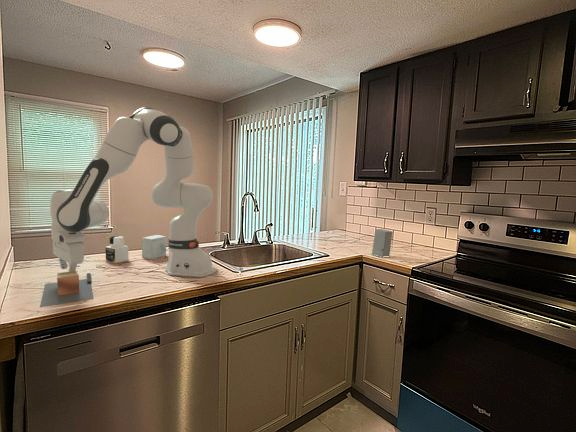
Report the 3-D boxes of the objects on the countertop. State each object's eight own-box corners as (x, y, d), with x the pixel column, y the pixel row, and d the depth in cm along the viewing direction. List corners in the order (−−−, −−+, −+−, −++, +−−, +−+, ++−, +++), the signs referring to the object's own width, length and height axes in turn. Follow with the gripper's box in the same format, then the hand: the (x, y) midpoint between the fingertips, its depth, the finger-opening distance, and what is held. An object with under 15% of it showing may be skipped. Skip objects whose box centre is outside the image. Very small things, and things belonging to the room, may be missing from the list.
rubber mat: (45, 284, 115) (45, 283, 115) (90, 279, 123) (90, 278, 122) (39, 308, 95) (39, 307, 95) (93, 300, 103) (93, 298, 103)
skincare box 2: (371, 255, 187) (373, 228, 185) (379, 253, 191) (381, 228, 189) (382, 258, 180) (385, 231, 178) (390, 257, 184) (393, 230, 182)
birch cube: (57, 273, 109) (57, 278, 104) (77, 270, 112) (78, 275, 107) (57, 289, 109) (57, 295, 105) (78, 286, 113) (79, 292, 108)
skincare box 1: (151, 259, 155) (150, 238, 154) (141, 257, 158) (141, 237, 157) (166, 255, 165) (166, 235, 164) (157, 253, 167) (157, 234, 166)
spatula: (95, 265, 143) (95, 262, 143) (98, 281, 118) (98, 277, 118) (79, 267, 140) (79, 264, 139) (79, 283, 115) (79, 280, 115)
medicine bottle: (105, 261, 149) (104, 236, 148) (119, 258, 155) (119, 234, 154) (114, 263, 146) (114, 238, 144) (128, 260, 152) (128, 236, 151)
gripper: (46, 231, 117) (48, 266, 118) (66, 239, 104) (67, 279, 106) (66, 229, 122) (67, 263, 123) (87, 237, 109) (88, 275, 111)
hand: (67, 271), depth 115 cm, fingers open, 7 cm apart
